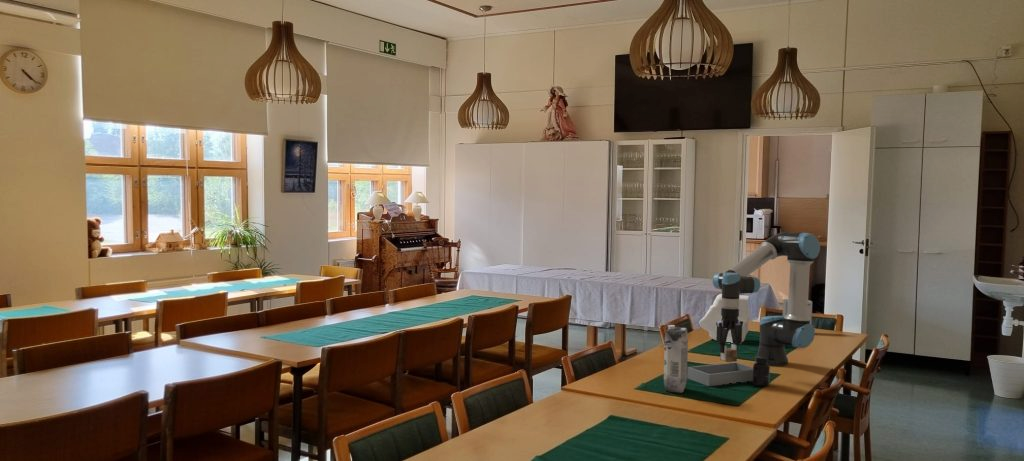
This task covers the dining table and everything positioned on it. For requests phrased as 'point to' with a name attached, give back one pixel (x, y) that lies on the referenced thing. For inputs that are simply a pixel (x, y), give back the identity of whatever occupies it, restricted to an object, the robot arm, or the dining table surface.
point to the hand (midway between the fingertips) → (728, 359)
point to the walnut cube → (730, 355)
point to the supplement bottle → (761, 372)
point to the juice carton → (675, 359)
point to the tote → (720, 373)
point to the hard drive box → (809, 309)
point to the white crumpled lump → (715, 316)
